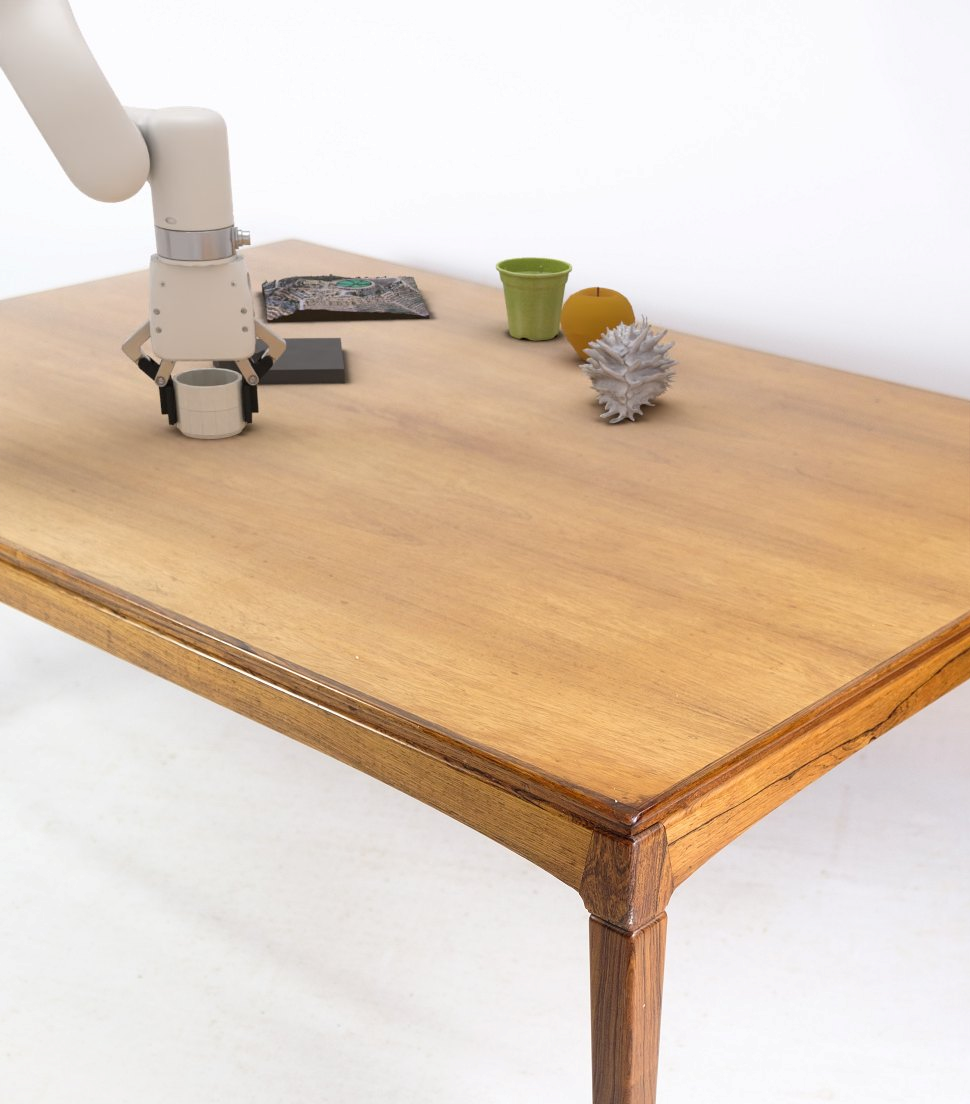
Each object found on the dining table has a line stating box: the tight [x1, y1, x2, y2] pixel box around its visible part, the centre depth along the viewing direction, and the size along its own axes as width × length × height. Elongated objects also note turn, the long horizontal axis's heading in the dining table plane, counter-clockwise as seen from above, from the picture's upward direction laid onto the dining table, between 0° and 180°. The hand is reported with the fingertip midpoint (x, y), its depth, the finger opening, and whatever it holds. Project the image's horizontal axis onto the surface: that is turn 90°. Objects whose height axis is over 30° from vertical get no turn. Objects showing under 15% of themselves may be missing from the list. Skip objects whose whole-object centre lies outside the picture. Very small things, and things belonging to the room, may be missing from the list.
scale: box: [212, 337, 346, 385], centre depth 186 cm, size 14×13×4 cm
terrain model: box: [261, 273, 430, 324], centre depth 212 cm, size 20×15×3 cm
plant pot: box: [495, 256, 573, 342], centre depth 202 cm, size 9×9×9 cm
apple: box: [560, 286, 636, 364], centre depth 193 cm, size 9×9×9 cm
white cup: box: [172, 367, 247, 440], centre depth 166 cm, size 7×7×6 cm
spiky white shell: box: [578, 314, 681, 424], centre depth 177 cm, size 12×11×12 cm
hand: (211, 418), depth 167 cm, fingers closed on white cup, 6 cm apart
